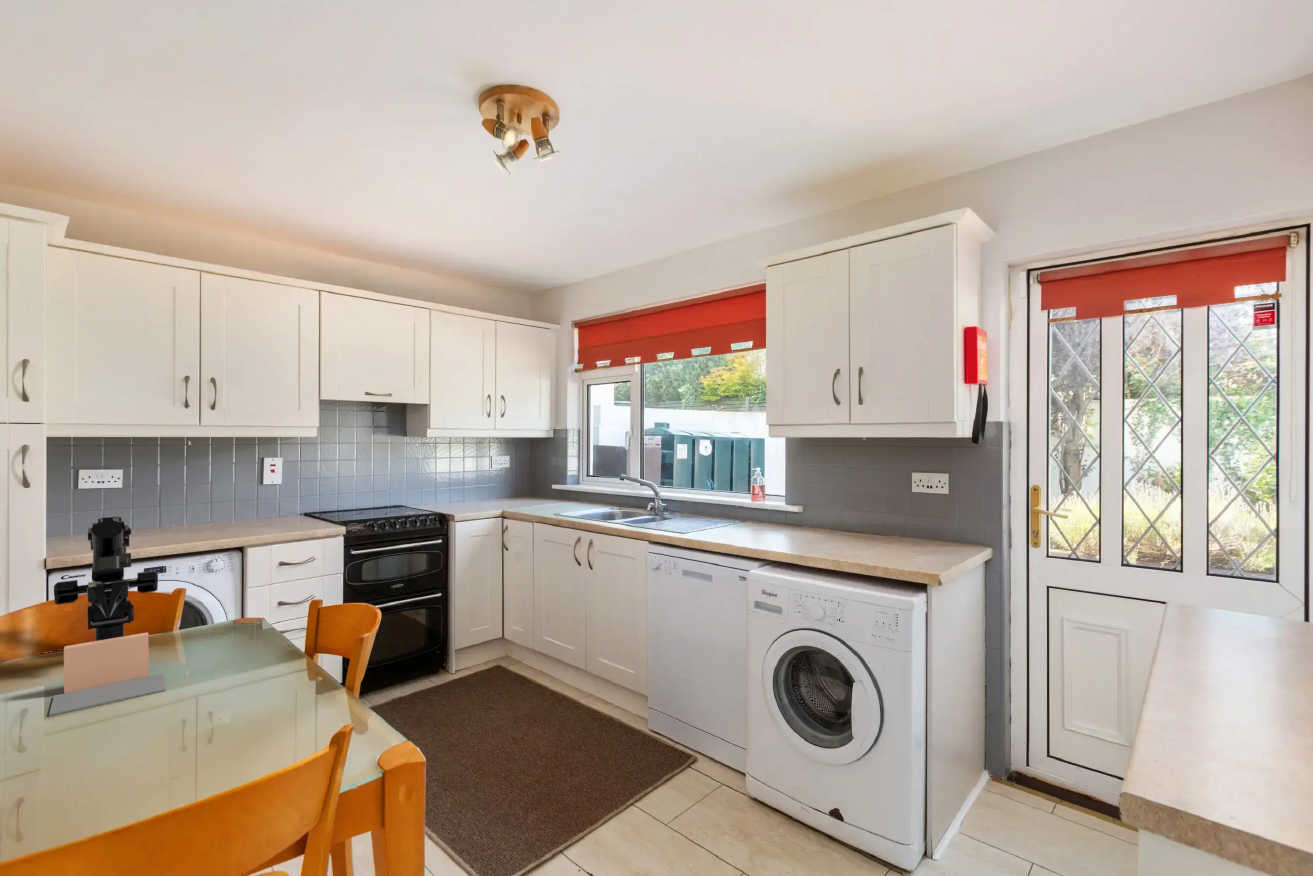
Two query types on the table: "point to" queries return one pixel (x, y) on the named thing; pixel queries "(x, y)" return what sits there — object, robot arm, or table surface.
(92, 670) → the terracotta tile
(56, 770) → the table surface
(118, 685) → the mat
